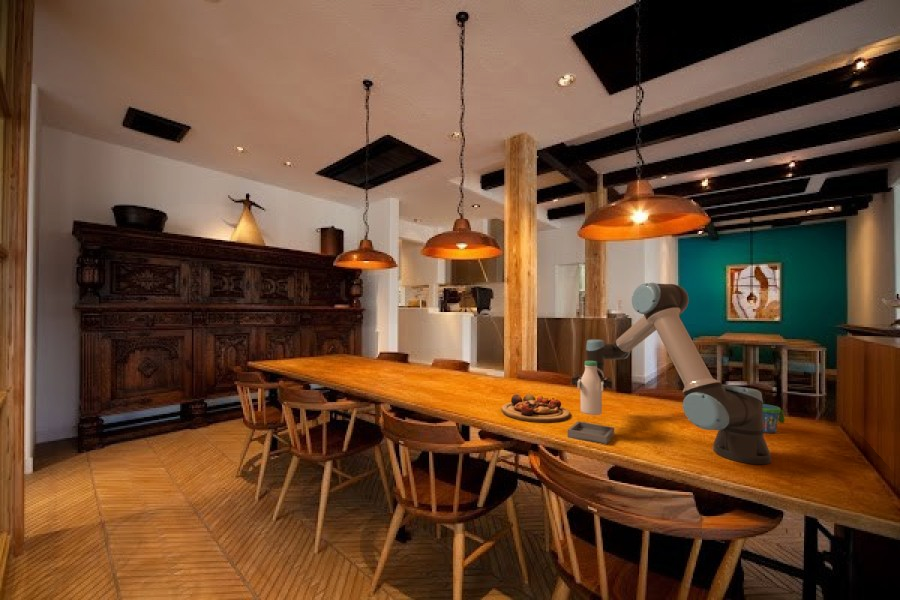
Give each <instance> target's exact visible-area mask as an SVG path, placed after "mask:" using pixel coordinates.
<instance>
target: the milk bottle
mask: <svg viewBox="0 0 900 600" xmlns="http://www.w3.org/2000/svg"><path fill="white" fill-rule="evenodd" d="M581 377H582V379H581V387H580V396H579V397H580V412H581V414H582V413H583V414H585V415H591V416H599V415H602V413H603V412H602V411H603V409H602V408H603V405H602V403H603V402H602V401H603V399H602V397H603V396H602V395H603V394H602V392H603V391H601V380H600V377H599V375H598V373H597V362H596V361H587V360H585V361H584V372H583V373H582V376H581Z"/></svg>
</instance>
